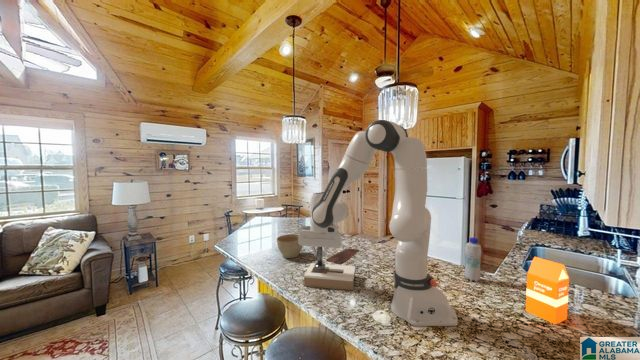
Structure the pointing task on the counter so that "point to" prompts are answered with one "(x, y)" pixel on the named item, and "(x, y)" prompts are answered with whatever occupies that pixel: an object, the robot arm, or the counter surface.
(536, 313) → the orange juice
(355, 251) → the wooden tablet
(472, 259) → the bottle
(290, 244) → the planter bowl
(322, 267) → the peg
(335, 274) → the keyhole plate
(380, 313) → the counter surface
